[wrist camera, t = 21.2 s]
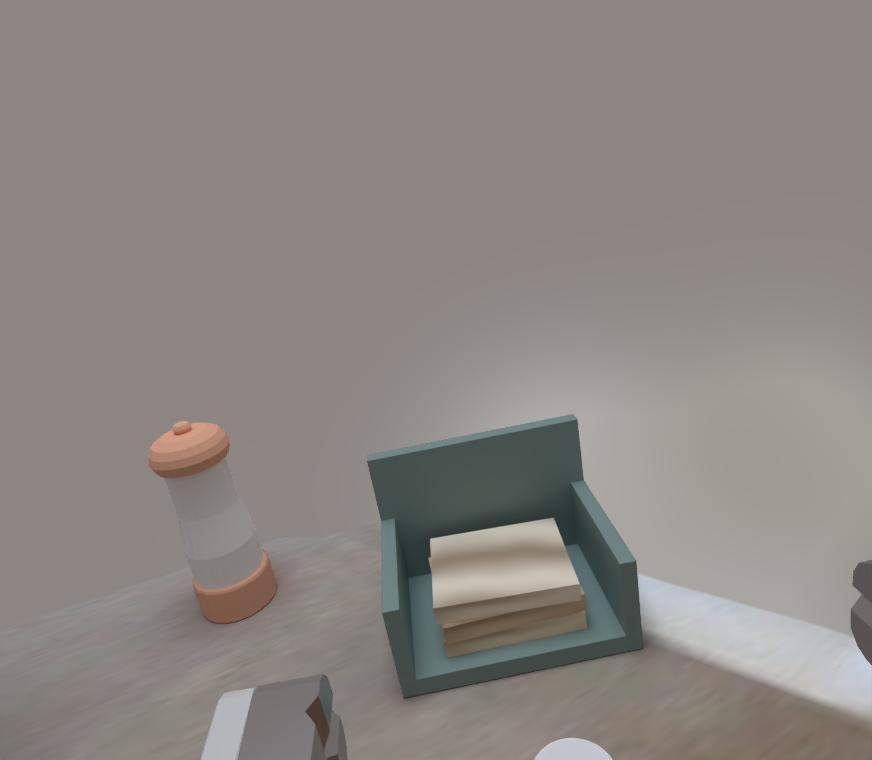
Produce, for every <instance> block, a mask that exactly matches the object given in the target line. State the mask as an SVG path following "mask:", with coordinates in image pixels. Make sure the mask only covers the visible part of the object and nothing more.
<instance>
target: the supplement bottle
mask: <svg viewBox="0 0 872 760" xmlns="http://www.w3.org/2000/svg"><path fill="white" fill-rule="evenodd" d="M534 760H613V759H612V758H611V757H610V755H609V754H608V753H607V752H606V751H605V750H604V749H602V748H601V747H599V746H598V745H596V744H594V743H592V742H590V741H587V740H584V739H578V738H565V739H560V740H557V741H554V742H552V743H550V744H548V745H547V746H545V747H544V748H543V749H542V750H541V751H540V752H539V753H538V754H537V756H536V757H535V759H534Z"/></svg>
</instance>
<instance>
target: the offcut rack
mask: <svg viewBox="0 0 872 760" xmlns="http://www.w3.org/2000/svg"><path fill="white" fill-rule="evenodd" d="M367 463H368V467H369V471H370V475H371V480H372V484H373V488H374V492H375V496H376V500H377V505H378V509H379V513H380V517H381V535H382V614H383V618H384V622H385V626H386V630H387V634H388V638H389V642H390V645H391V649H392V653H393V657H394V661H395V665H396V669H397V673H398V677H399V681H400V685H401V689H402V693H403V697H404V698H407V697H412V696H417V695H422V694H426V693H431V692H436V691H441V690H446V689H450V688H455V687H460V686H465V685H470V684H474V683H479V682H484V681H489V680H494V679H498V678H503V677H508V676H513V675H517V674H522V673H527V672H532V671H537V670H541V669H546V668H551V667H556V666H561V665H565V664H570V663H575V662H580V661H584V660H589V659H594V658H599V657H604V656H608V655H613V654H618V653H623V652H628V651H632V650H637V649H642V648H643V642H642V629H641V616H640V603H639V590H638V578H637V565H636V560H635V558H634V557H633V555H632V554H631V552H630V551H629V549H628V547H627V546H626V544H625V543H624V541H623V540H622V538H621V537H620V535H619V534H618V532H617V530H616V529H615V527H614V526H613V524H612V523H611V521H610V520H609V518H608V517H607V515H606V514H605V512H604V511H603V509H602V507H601V506H600V504H599V503H598V501H597V500H596V498H595V497H594V495H593V494H592V492H591V491H590V489H589V487H588V486H587V485H586V483H585V481H584V478H583V470H582V460H581V451H580V441H579V431H578V422H577V418H576V417H575V416H574V415H573V414H572V415H566V416H561V417H557V418H552V419H546V420H541V421H536V422H531V423H527V424H522V425H517V426H511V427H507V428H502V429H496V430H491V431H486V432H481V433H476V434H471V435H466V436H461V437H456V438H451V439H446V440H441V441H436V442H431V443H426V444H421V445H415V446H410V447H406V448H401V449H396V450H390V451H386V452H380V453H375V454H370V455H368V456H367ZM548 518H554V520H555V522H556V525H557V528H558V530H559V533H560V535H561V538H562V540H563V543H564V545H565V548H566V550H567V553H568V556H569V558H570V561H571V563H572V566H573V568H574V571H575V573H576V576H577V578H578V581H579V583H580V586H581V587H582V589H583V591H584V593H585V596H586V605H587V610H584V611H585V614H586V623H587V629H583V630H578V631H573V632H568V633H563V634H558V635H554V636H549V637H544V638H539V639H534V640H530V641H525V642H520V643H515V644H510V645H505V646H501V647H496V648H491V649H486V650H481V651H477V652H472V653H467V654H462V655H457V656H453V657H448V658H447V656H446V651H445V647H444V642H443V634H442V627H441V624H437V623H436V618H435V614H434V609H433V590H432V573H431V568H430V563H429V559H428V558H430V557H431V548H430V539H432V538H437V537H443V536H449V535H455V534H461V533H467V532H472V531H478V530H484V529H490V528H496V527H501V526H507V525H513V524H519V523H525V522H531V521H536V520H542V519H548Z"/></svg>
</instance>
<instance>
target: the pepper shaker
mask: <svg viewBox="0 0 872 760" xmlns="http://www.w3.org/2000/svg"><path fill="white" fill-rule="evenodd" d="M229 442H230V441H229V437H228V435H227V433H226V432H225V431H224V430H223V429H222V428H220V427H219V426H217V425H216V424H213V423H191V424H190V423H189V422H187V421H180V422H178V423H176V424H175V425H174V426H173V429H172V430H170V431H168V432H167V433H165V434H164V435H162V436H161V437H160V438H159V439H157V440H156V441H155V442H154V443H153V444H152V445H151V448H150V451H149V456H148V460H149V466H150V468H151V469H152V470H153V471H154V472H155V473H156V474H157V475H159V476H160V477H163V478H165V481H166V484H167V486H168V489H169V492H170V495H171V498H172V500H173V503H174V506H175V509H176V511H177V514H178V518H179V523H180V529H181V536H182V541H183V547H184V553H185V556H186V558H187V560H188V563H189V565H190V568H191V570H192V573H193V575H194V578H193V588H194V590H195V593H196V596H197V598H198V601H199V604H200V606H201V609H202V612H203V614H204V616H205V617H206V618H207V619H208V620H209V621H212V622H215V623H230V622H235V621H239V620H242V619H244V618H247V617H249V616H251V615H253V614H255V613H256V612H258V611H259V610H261V609H262V608H263V607H264V606H266V605H267V604H268V603H269V602H270V601H271V599H272V598H273V596H274V595H275V593H276V589H277V583H276V580H275V576H274V573H273V570H272V567H271V564H270V561H269V558H268V555H267V553H266V552H265V551H264V550H263V549H261V546H260V543H259V539H258V536H257V532H256V529H255V525H254V522H253V521H252V519H251V517H250V515H249V514H248V511H247V509H246V508H245V506H244V504H243V502H242V500H241V498H240V496H239V495H238V493H237V490H236V487H235V484H234V481H233V478H232V475H231V472H230V469H229V466H228V463H227V460H226V455H227V453H228V452H229V445H230V443H229Z"/></svg>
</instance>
